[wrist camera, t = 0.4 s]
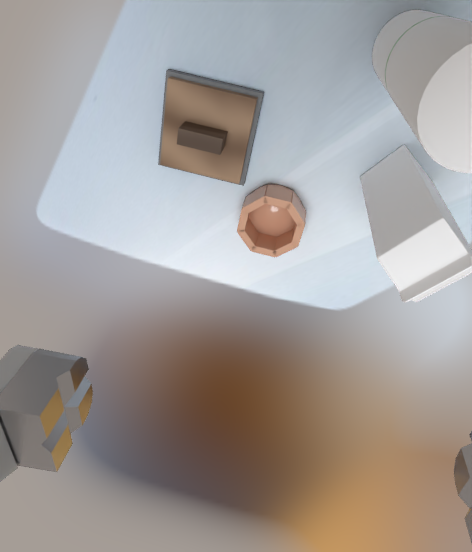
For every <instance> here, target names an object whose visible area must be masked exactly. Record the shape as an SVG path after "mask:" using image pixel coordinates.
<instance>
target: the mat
mask: <svg viewBox="0 0 472 552" xmlns="http://www.w3.org/2000/svg"><path fill="white" fill-rule="evenodd" d="M170 76H171V77H175V78H179V79H183V80H188V81H192V82H196V83H200V84H204V85H208V86H212V87H217V88H221V89H225V90H229V91H233V92H237V93H241V94H246V95H250V96H254V97H258V99H257V103H256V108H255V113H254V118H253V123H252V127H251V132H250V137H249V142H248V147H247V151H246V156H245V161H244V166H243V171H242V175H241V180H240V183H239V185H243V186H244V183H245V179H246V174H247V169H248V165H249V160H250V155H251V151H252V146H253V141H254V137H255V132H256V127H257V123H258V118H259V113H260V109H261V104H262V99H263V95H264V92H262V91H258V90H254V89H250V88H246V87H242V86H237V85H233V84H229V83H225V82H221V81H217V80H212V79H208V78H204V77H200V76H196V75H192V74H188V73H183V72H179V71H175V70H171V69H168V70H166V81H165V93H164V104H163V116H162V128H161V139H160V151H159V163H158V165H160V160H161V149H162V137H163V126H164V114H165V103H166V92H167V80H168V77H170ZM162 166H164V165H162ZM166 167H168V166H166ZM170 168H172V167H170ZM174 169H176V168H174ZM178 170H180V169H178ZM182 171H184V170H182ZM186 172H188V171H186ZM190 173H192V172H190ZM194 174H196V173H194ZM198 175H200V174H198ZM202 176H204V175H202ZM206 177H208V176H206ZM210 178H212V177H210ZM214 179H217V178H214ZM218 180H221V179H218ZM222 181H225V180H222ZM227 182H229V181H227ZM231 183H233V182H231ZM235 184H237V183H235Z"/></svg>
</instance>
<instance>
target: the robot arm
mask: <svg viewBox="0 0 472 552" xmlns="http://www.w3.org/2000/svg"><path fill="white" fill-rule="evenodd" d="M88 370H89V368H88V364H87V360H86V358H83V357H79V356H74V355H69V354H64V353H59V352H53V351H49V350H44V349H37V348H32V347H27V346H21V345H17V346H15V347H13V348H11V349H10V350H9V351H8V352H7V353H6V354H5V356H3V358H2V359H1V360H0V482H1V481H2V480H3V479H4V478H6V477H7V476H8V475H9V474H11V473H12V472H13V471H15V470H16V469H17V468H18V467H17V466H24V467H29V468H36V469H41V470H47V471H54V472H57V471H58V469H59V468H60V466H61V464H62V462H63V460H64V458H65V457H66V455H67V453H68V451H69V449H70V447H71V446H72V439H71V433H72V432H73V431H75V430H76V429H78V428H80V427H81V426H82V425H83V423H84V421H85V420H86V417H87V416H88V413H89V410H90V407H91V403H92V396H93V390H92V384H91V382H90V381H89V380H88V379H87V378H86V377H85V375H86V373H87V371H88ZM470 438H471V441H472V432H471V433H470ZM454 477H455V485H456V488H457V492H458V496H459V497H460V498H461V499H462V500H463V501H464V502H465V503H466V505H467V506H468V507H469V511H468V512H467V515H466V516H465V521H466V525H467V529H468V532H469V536H470V539H471V543H472V444H469V445H467V446H465V447H463V448H461V449H460V451H459V453H458V455H457V457H456V460H455V467H454Z"/></svg>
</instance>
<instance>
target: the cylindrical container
mask: <svg viewBox="0 0 472 552" xmlns="http://www.w3.org/2000/svg"><path fill="white" fill-rule="evenodd" d="M372 63H373V67H374V70H375V73H376V74H377V76H378V78H379V79H380V81H381V82H382V84H383V85H384V87H385V89H386V90H387V92H388V93H389V95H390V96H391V98H392V100H393V101H394V103H395V104H396V106H397V107H398V109H399V110H400V112H401V114H402V115H403V117H404V118H405V120H406V121H407V123H408V124H409V126H410V128H411V129H412V131H413V132H414V134H415V135H416V137H417V138H418V140H419V142H420V143H421V145H422V146H423V148H424V149H425V151H426V152H427V154H428V155H429V156H430V157H431V158H432V159H433V160H434V161H435V162H437V163H438V164H440V165H441V166H443V167H445V168H448V169H450V170H452V171H457V172H462V173H472V22H471V21H467V20H462V19H458V18H454V17H450V16H445V15H441V14H437V13H433V12H429V11H424V10H409V11H406V12H402V13H401V14H399V15H397V16H395V17H394V18H392V19H391V20H390V21H388V22H387V23H386V25H385V26H384V27H383V28H382V29H381V31H380V32H379V34H378V36H377V38H376V40H375V43H374V46H373V51H372Z"/></svg>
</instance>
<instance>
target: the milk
mask: <svg viewBox="0 0 472 552" xmlns="http://www.w3.org/2000/svg"><path fill="white" fill-rule="evenodd" d="M360 179H361V184H362V189H363V194H364V198H365V203H366V208H367V213H368V217H369V222H370V227H371V231H372V236H373V241H374V246H375V250H376V255H377V259H378V261H379V262H380V264H381V265H382V267H383V268H384V270H385V271H386V273H387V274H388V276H389V277H390V279H391V280H392V282H393V283H394V285H395V286H396V288H397V289H398V291H399V292H400V296H401V299H402V301H403V302H408V301H410V300H413V301H414V302H418V301H420V300H422V299H424V298H426V297H428V296H429V295H431V294H433V293H435V292H437V291H439V290H441V289H442V288H444V287H446V286H448V285H450V284H452V283H454V282H456V281H458V280H459V279H461V278H463V277H465V276H467V275H469V274H471V273H472V249H471V248H470V246H469V244H468V242H467V241H466V239H465V237H464V235H463V234H462V232H461V230H460V228H459V227H458V225H457V223H456V222H455V220H454V218H453V216H452V215H451V213H450V211H449V209H448V208H447V206H446V204H445V202H444V201H443V199H442V197H441V196H440V194H439V192H438V190H437V189H436V187H435V185H434V183H433V182H432V180H431V179H430V178H429V176H428V175H427V174H426V172H425V171H424V170H423V168H422V167H421V166H420V164H419V163H418V162H417V161H416V159H415V158H414V157H413V155H412V154H411V153H410V151H409V150H408V149H407V147H406V146H405V145H402V146H401V147H399V148H398V149H397V150H395V151H394V152H393V153H391V154H390V155H389V156H387V157H386V158H385V159H383V160H382V161H381V162H379V163H378V164H377V165H375V166H374V167H372V168H371V169H370V170H368V171H367V172H366V173H364V174H363V175H362V176H360Z"/></svg>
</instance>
